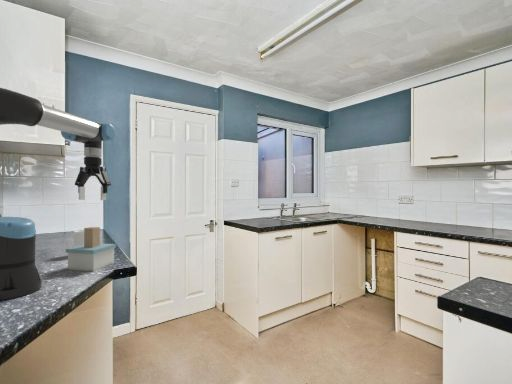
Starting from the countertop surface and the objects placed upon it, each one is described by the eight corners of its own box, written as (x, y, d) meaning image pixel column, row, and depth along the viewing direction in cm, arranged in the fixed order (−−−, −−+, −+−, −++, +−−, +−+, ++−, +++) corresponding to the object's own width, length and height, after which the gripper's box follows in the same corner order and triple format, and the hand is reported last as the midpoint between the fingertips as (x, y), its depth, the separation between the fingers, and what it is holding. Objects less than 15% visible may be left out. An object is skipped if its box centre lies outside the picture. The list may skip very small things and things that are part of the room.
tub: (93, 271, 111) (93, 253, 111) (67, 269, 113) (67, 252, 113) (114, 263, 123) (114, 247, 123) (90, 262, 125) (90, 246, 125)
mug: (64, 258, 132) (64, 232, 132) (65, 254, 139) (66, 230, 139) (93, 255, 138) (93, 231, 138) (93, 252, 145) (93, 229, 145)
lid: (93, 256, 110) (93, 230, 110) (65, 254, 113) (65, 229, 113) (115, 249, 123) (116, 226, 123) (90, 248, 126) (90, 225, 126)
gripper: (119, 157, 138) (118, 200, 138) (80, 158, 145) (79, 199, 145) (107, 155, 130) (106, 200, 130) (66, 156, 137) (66, 199, 137)
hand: (92, 200), depth 137 cm, fingers open, 13 cm apart
